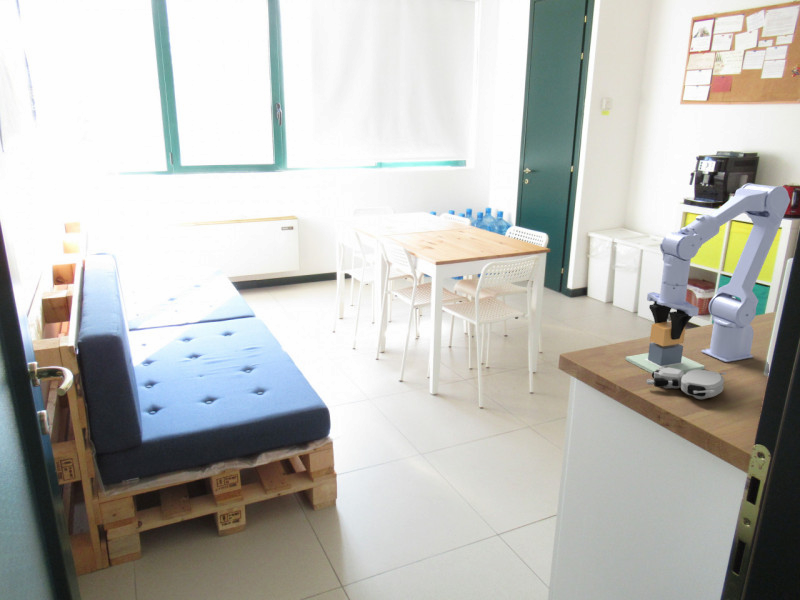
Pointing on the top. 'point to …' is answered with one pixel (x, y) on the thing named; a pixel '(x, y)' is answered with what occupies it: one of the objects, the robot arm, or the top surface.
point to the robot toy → (689, 381)
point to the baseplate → (649, 366)
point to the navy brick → (665, 354)
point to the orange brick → (664, 334)
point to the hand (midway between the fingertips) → (667, 335)
